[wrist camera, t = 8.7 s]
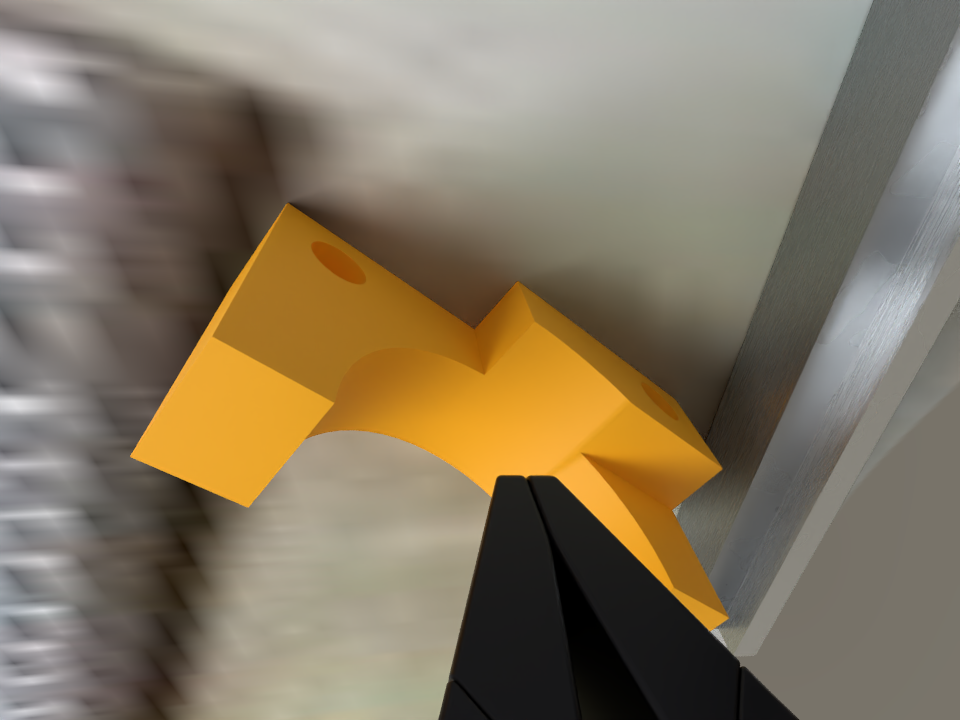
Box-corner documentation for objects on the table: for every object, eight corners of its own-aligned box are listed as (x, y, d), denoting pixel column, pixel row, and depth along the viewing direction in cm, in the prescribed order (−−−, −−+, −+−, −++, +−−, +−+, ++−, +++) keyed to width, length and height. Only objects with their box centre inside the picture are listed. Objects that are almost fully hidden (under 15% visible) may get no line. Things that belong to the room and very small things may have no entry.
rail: (707, 567, 22) (755, 655, 19) (657, 568, 22) (697, 658, 19) (1139, -404, 10) (1462, -581, 7) (1038, -432, 9) (1329, -629, 6)
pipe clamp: (673, 396, 18) (794, 572, 12) (574, 485, 19) (643, 677, 14) (330, 137, 13) (278, 238, 7) (233, 283, 14) (129, 456, 9)
